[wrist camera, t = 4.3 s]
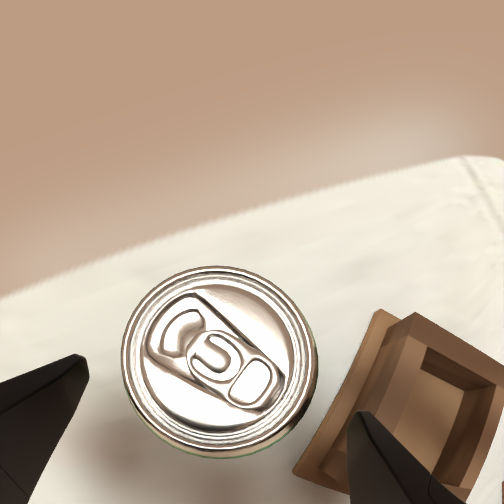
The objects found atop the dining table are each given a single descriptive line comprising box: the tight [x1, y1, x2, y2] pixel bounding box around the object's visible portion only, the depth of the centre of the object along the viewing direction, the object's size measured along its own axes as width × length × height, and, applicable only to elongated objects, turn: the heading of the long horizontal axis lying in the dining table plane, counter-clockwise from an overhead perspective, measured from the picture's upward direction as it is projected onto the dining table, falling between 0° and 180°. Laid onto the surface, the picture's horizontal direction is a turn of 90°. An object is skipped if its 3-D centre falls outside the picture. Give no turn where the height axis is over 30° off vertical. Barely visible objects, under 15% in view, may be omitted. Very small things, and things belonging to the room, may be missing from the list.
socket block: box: [292, 309, 504, 502], centre depth 13 cm, size 12×12×4 cm
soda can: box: [121, 266, 318, 459], centre depth 11 cm, size 5×5×12 cm
